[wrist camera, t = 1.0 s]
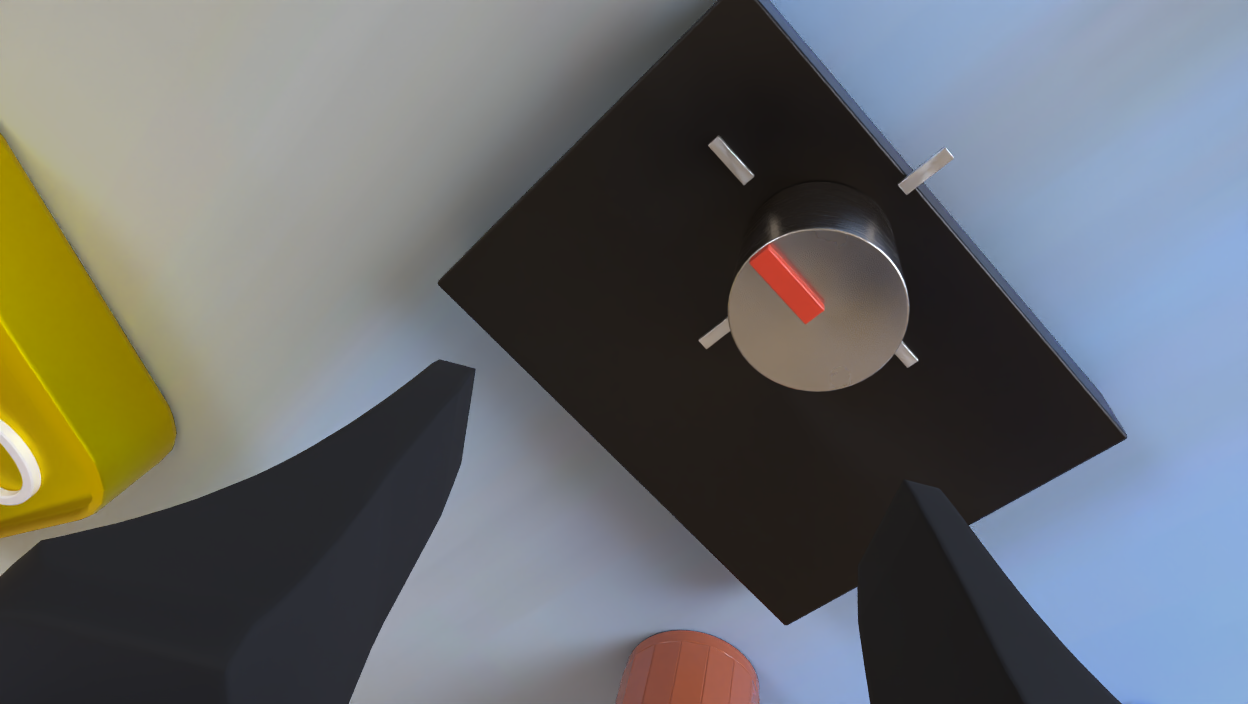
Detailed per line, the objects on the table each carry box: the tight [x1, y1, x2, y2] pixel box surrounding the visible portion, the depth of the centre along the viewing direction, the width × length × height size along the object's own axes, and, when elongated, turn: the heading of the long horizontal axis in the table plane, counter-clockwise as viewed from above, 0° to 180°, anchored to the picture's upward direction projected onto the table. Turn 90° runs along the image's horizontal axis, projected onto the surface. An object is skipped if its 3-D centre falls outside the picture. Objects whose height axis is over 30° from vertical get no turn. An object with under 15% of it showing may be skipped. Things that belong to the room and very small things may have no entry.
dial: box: [728, 182, 910, 392], centre depth 21 cm, size 4×4×4 cm
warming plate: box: [438, 0, 1127, 625], centre depth 25 cm, size 16×13×3 cm
